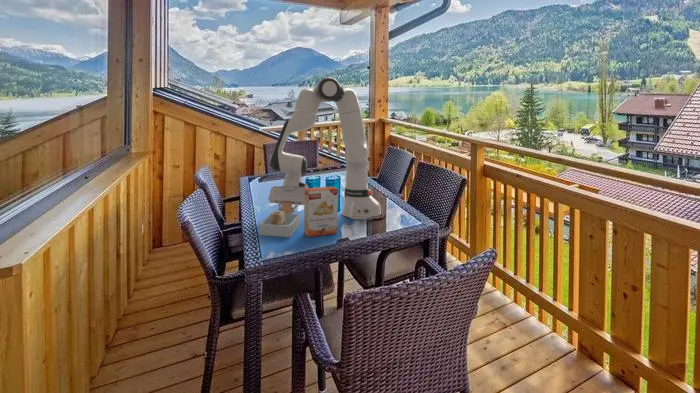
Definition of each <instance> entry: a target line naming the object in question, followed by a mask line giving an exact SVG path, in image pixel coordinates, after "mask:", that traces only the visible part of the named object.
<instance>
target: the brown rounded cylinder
mask: <svg viewBox="0 0 700 393" xmlns="http://www.w3.org/2000/svg"><path fill="white" fill-rule="evenodd" d="M281 207H282V211H281V212H285V213H286V214H293V212H292V211H291V209H292V207H293V204H292V202H286V201H284V202H282V204H281Z"/></svg>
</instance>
